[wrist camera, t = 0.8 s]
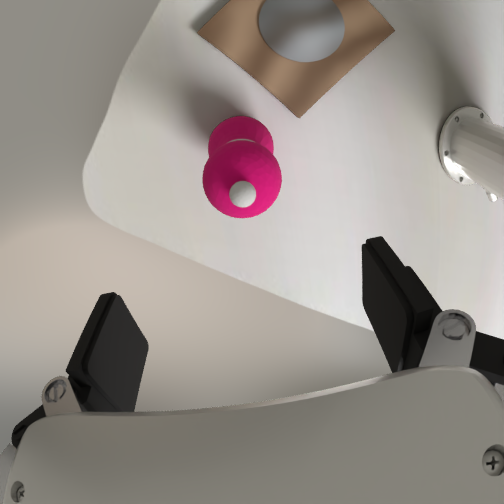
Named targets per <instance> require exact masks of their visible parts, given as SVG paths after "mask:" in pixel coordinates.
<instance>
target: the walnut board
mask: <svg viewBox="0 0 504 504" xmlns="http://www.w3.org/2000/svg"><path fill="white" fill-rule="evenodd" d="M394 31H395V30H394V28H393V27H392V26H391V25H390V24H389V23H388V22H387V21H386V19H385V18H384V17H383V16H382V15H381V14H380V13H379V12H378V11H377V10H376V9H375V8H374V7H373V6H372V5H371V4H370V2H369V1H368V0H230V1H229V2H228V3H227V4H226V5H225V6H224V7H223V8H221V9H220V10H219V11H218V12H217V13H216V14H215V15H214V16H213V17H212V18H211V19H210V20H209V21H208V22H207V23H206V24H205V25H204V26H203V27H202V28H201V29H200V30H199V31H198V32H197V33H198V35H200V36H201V37H202V38H204V39H205V40H207V41H208V42H209V43H211V44H212V45H213V46H214V47H216V48H217V49H218V50H220V51H221V52H222V53H224V54H225V55H226V56H227V57H229V58H230V59H231V60H232V61H234V62H235V63H236V64H237V65H239V66H240V67H241V68H242V69H244V70H245V71H246V72H247V73H248V74H250V75H251V76H252V77H253V78H254V79H255V80H257V81H258V82H259V83H260V84H261V85H262V86H264V87H265V88H266V89H267V90H268V91H269V92H270V93H272V94H273V95H274V96H275V97H276V98H277V99H278V100H279V101H280V102H282V103H283V104H284V105H285V106H286V107H287V108H288V109H289V110H290V111H291V112H292V113H293V114H294V115H296V116H297V117H298V118H300V117H301V116H302V115H303V114H304V113H305V112H306V111H307V110H308V109H309V108H311V107H312V106H313V105H314V104H315V103H316V102H317V101H318V100H319V99H320V98H321V97H322V96H323V95H324V94H325V93H326V92H327V91H328V90H329V89H330V88H331V87H333V86H334V85H335V84H336V83H337V82H338V81H339V80H340V79H341V78H342V77H343V76H344V75H345V74H347V73H348V72H349V71H350V70H351V69H352V68H353V67H354V66H355V65H356V64H358V63H359V62H360V61H361V60H362V59H363V58H364V57H365V56H366V55H368V54H369V53H370V52H371V51H372V50H373V49H374V48H376V47H377V46H378V45H379V44H380V43H381V42H382V41H384V40H385V39H386V38H387V37H388V36H389V35H391V34H392V33H393V32H394Z"/></svg>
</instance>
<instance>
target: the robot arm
mask: <svg viewBox="0 0 504 504" xmlns="http://www.w3.org/2000/svg"><path fill="white" fill-rule="evenodd" d="M439 154H440V160H441V163H442V166H443V168H444V170H445V172H446V173H447V175H448V176H449V177H450V178H451V179H453V180H454V181H456V182H457V183H459V184H462V185H473V184H475V183H477V184H479V185H480V186H482V188H483V189H485V190H486V194H487V196H488V198H489V200H490V201H492V202H494V201H496V200H497V199H498V197H499V198H500V199H501V200H503V201H504V127H502V126H499V125H496V124H493V123H492V121H491V119H490V118H489V117H488V115H487V114H486V113H485V112H483V111H482V110H480V109H478V108H475V107H468V106H465V107H461V108H459V109H457V110H455V111H454V112H453V113H452V114H451V115H450V116H449V117H448V119H447V120H446V122H445V124H444V126H443V128H442V131H441V134H440V140H439ZM362 300H363V306H364V309H365V312H366V314H367V316H368V318H369V320H370V323H371V325H372V327H373V329H374V331H375V334H376V336H377V338H378V340H379V343H380V345H381V347H382V350H383V352H384V354H385V356H386V359H387V361H388V364H389V366H390V368H391V371H392V373H391V374H387V375H383V376H379V377H375V378H371V379H368V380H364V381H360V382H356V383H351V384H347V385H343V386H339V387H334V388H330V389H325V390H321V391H316V392H311V393H306V394H301V395H296V396H291V397H285V398H279V399H273V400H267V401H261V402H254V403H246V404H239V405H231V406H222V407H212V408H202V409H190V410H174V411H152V412H134V409H135V405H136V400H137V395H138V391H139V386H140V382H141V378H142V374H143V369H144V365H145V361H146V357H147V352H148V342H147V340H146V338H145V337H144V335H143V334H142V332H141V331H140V329H139V327H138V326H137V324H136V322H135V320H134V319H133V317H132V315H131V313H130V312H129V310H128V308H127V307H126V305H125V303H124V301H123V299H122V298H121V296H119V295H117V294H116V293H114V292H111V293H106V294H102V295H100V297H99V299H98V301H97V303H96V305H95V307H94V309H93V311H92V313H91V315H90V317H89V319H88V321H87V324H86V326H85V328H84V330H83V332H82V334H81V336H80V339H79V341H78V343H77V345H76V347H75V350H74V352H73V354H72V357H71V359H70V361H69V364H68V366H67V369H66V372H67V373H68V374H69V376H68V379H67V378H66V377H63V376H59V377H55V378H53V379H52V380H50V381H49V382H48V383H47V384H46V386H45V387H44V389H43V391H42V403H43V405H41V406H40V407H39V408H38V409H36V410H35V411H34V412H33V413H31V414H30V415H29V416H27V417H26V418H25V419H23V420H22V421H21V422H20V423H19V424H18V425H16V426H15V428H14V430H13V433H12V444H13V445H11V444H10V443H9V444H8V445H7V447H6V448H5V449H4V451H3V452H2V453H1V454H0V504H504V340H503V339H500V338H497V337H493V336H490V335H487V334H484V333H480V332H477V331H476V325H475V322H474V320H473V319H472V318H471V317H470V315H468V314H467V313H465V312H463V311H460V310H454V309H451V310H445V311H442V310H441V308H440V307H439V305H438V304H437V302H436V301H435V300H434V298H433V297H432V295H431V294H430V293H429V291H428V290H427V288H426V287H425V286H424V284H423V283H422V281H421V280H420V279H419V277H418V276H417V275H416V273H415V272H414V271H413V269H412V268H411V267H410V266H406V267H405V266H404V265H403V263H402V262H401V261H400V259H399V258H398V257H397V255H396V254H395V253H394V251H393V250H392V249H391V247H390V246H389V245H388V243H387V242H386V241H385V240H384V238H383V237H382V236H379V237H375V238H370V239H367V240H366V244H363V245H362Z"/></svg>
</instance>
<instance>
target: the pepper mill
mask: <svg viewBox="0 0 504 504" xmlns="http://www.w3.org/2000/svg"><path fill="white" fill-rule="evenodd" d="M273 150H274V147H273V140H272V136H271V134H270V132H269V131H268V129H267V128H266V127H265V126H264V125H263V124H262V123H261V122H259V121H258V120H256V119H253V118H250V117H246V116H236V117H232V118H229V119H226V120H225V121H223V122H221V123H220V124H219V125H218V126H217V127H216V128H215V129H214V131H213V132H212V134H211V136H210V139H209V144H208V153H209V159H208V160H207V162H206V165H205V167H204V171H203V188H204V191H205V194H206V196H207V198H208V200H209V201H210V203H211V204H212V205H213V206H214V207H215V208H216V209H217V210H219V211H220V212H222V213H223V214H226V215H228V216H231V217H235V218H249V217H253V216H256V215H259V214H261V213H262V212H264V211H266V210H267V209H268V208H269V207H270V206H271V205H272V204H273V203H274V201H275V200H276V198H277V196H278V194H279V192H280V188H281V182H282V177H281V170H280V167H279V164H278V162H277V160H276V158H275V157H274V155H273Z"/></svg>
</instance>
